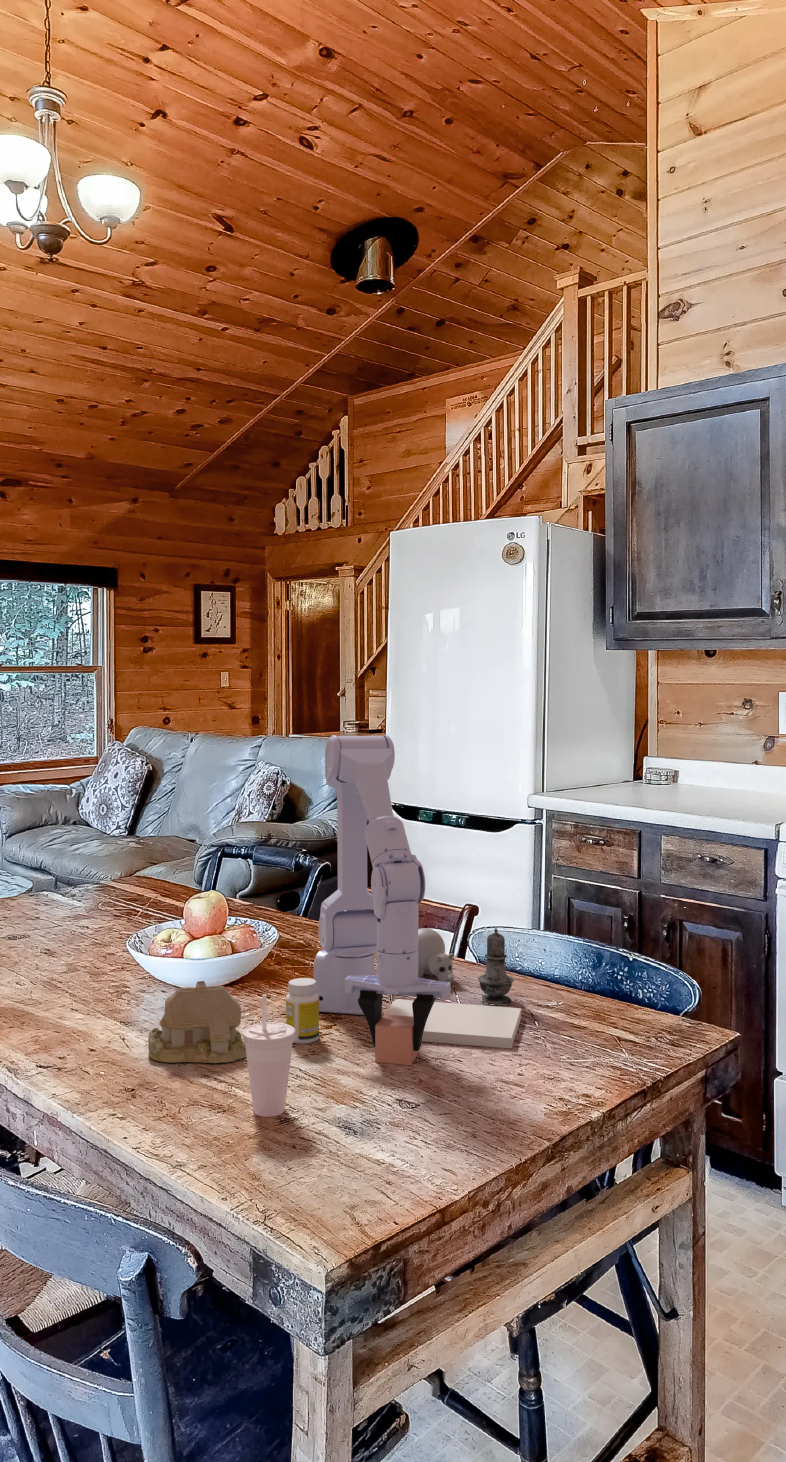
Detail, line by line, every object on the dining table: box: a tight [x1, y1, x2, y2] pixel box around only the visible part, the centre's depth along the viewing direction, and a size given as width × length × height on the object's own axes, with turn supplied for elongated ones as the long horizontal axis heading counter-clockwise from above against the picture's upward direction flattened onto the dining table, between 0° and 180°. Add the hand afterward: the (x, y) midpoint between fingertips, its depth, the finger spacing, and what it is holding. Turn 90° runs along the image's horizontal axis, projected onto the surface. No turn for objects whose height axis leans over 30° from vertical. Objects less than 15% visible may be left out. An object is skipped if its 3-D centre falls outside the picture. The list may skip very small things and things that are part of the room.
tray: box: [384, 998, 522, 1049], centre depth 150 cm, size 20×14×2 cm
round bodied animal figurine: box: [418, 927, 455, 983], centre depth 176 cm, size 7×12×8 cm, turn 34°
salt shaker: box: [477, 927, 515, 1006], centre depth 163 cm, size 6×6×12 cm
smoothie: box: [241, 993, 296, 1118], centre depth 119 cm, size 6×6×14 cm
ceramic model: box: [147, 980, 247, 1064], centre depth 139 cm, size 14×11×10 cm
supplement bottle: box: [285, 977, 320, 1045], centre depth 145 cm, size 5×5×8 cm
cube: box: [374, 1013, 420, 1066], centre depth 138 cm, size 5×5×5 cm
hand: (397, 1046), depth 138 cm, fingers closed on cube, 5 cm apart
